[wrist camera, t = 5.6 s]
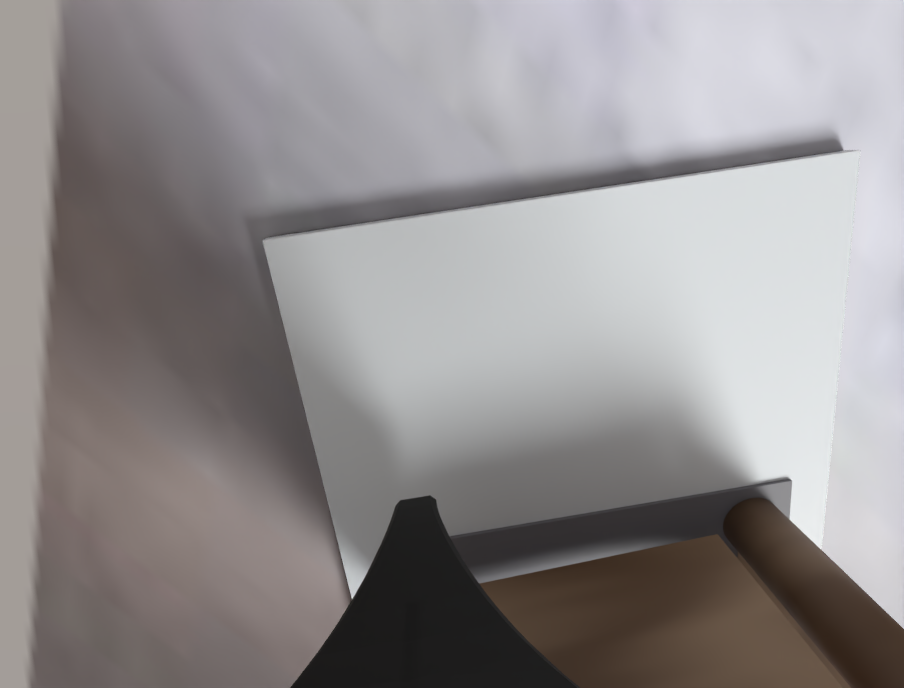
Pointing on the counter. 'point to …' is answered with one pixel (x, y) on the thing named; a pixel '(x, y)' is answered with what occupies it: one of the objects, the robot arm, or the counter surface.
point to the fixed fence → (817, 597)
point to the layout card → (577, 362)
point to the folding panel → (660, 622)
